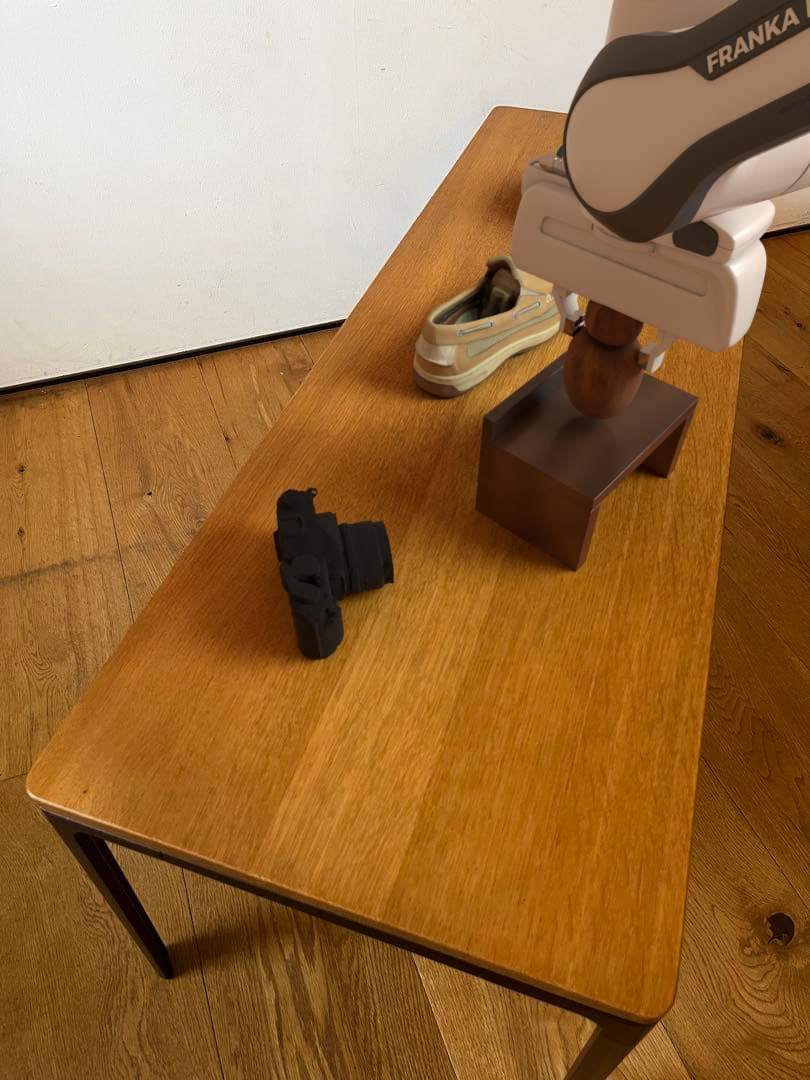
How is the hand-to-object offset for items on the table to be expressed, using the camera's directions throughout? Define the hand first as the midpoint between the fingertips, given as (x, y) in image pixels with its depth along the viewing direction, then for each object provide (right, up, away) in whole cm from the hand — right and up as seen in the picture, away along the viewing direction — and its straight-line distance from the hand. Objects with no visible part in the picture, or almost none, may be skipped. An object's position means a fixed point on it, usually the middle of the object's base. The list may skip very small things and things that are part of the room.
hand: (608, 349), depth 67 cm
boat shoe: (-5, +8, +30) cm, 32 cm away
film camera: (-23, -21, +5) cm, 32 cm away
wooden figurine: (0, -4, +5) cm, 6 cm away
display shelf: (0, -11, +13) cm, 17 cm away
